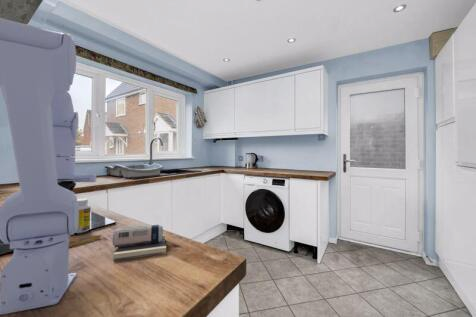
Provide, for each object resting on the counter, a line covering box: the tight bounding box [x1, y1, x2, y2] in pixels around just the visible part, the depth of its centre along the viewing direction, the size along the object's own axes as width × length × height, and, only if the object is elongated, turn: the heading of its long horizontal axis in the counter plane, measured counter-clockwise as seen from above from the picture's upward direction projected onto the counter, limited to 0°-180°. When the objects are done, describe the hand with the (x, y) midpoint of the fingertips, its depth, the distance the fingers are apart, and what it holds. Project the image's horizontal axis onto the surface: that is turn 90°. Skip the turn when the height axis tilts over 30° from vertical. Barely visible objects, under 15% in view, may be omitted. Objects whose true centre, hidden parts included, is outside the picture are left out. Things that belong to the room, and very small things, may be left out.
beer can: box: [112, 224, 164, 248], centre depth 58 cm, size 5×5×12 cm
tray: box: [112, 233, 167, 262], centre depth 56 cm, size 10×12×2 cm
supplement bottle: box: [75, 198, 92, 234], centre depth 69 cm, size 6×6×10 cm
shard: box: [69, 234, 102, 248], centre depth 59 cm, size 11×8×2 cm
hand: (59, 212), depth 52 cm, fingers closed
